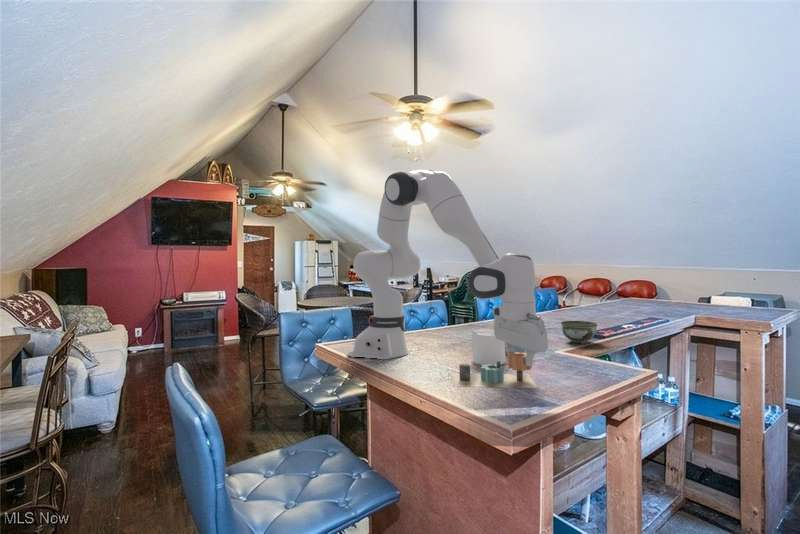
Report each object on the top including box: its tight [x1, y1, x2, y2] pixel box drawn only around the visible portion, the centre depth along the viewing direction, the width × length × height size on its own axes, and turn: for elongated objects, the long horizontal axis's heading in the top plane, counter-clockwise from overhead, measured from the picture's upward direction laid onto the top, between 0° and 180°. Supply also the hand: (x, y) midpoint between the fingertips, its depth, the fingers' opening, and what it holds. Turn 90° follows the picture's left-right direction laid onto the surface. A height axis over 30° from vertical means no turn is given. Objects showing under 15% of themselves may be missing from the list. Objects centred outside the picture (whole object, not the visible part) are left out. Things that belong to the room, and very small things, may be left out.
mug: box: [471, 329, 505, 366], centre depth 129 cm, size 14×10×11 cm
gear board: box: [451, 363, 539, 389], centre depth 108 cm, size 22×12×5 cm, turn 83°
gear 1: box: [480, 361, 505, 383], centre depth 108 cm, size 6×6×5 cm
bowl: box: [560, 320, 598, 344], centre depth 158 cm, size 14×13×8 cm
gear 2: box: [507, 352, 533, 372], centre depth 107 cm, size 6×6×4 cm
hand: (519, 361), depth 107 cm, fingers closed on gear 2, 6 cm apart
